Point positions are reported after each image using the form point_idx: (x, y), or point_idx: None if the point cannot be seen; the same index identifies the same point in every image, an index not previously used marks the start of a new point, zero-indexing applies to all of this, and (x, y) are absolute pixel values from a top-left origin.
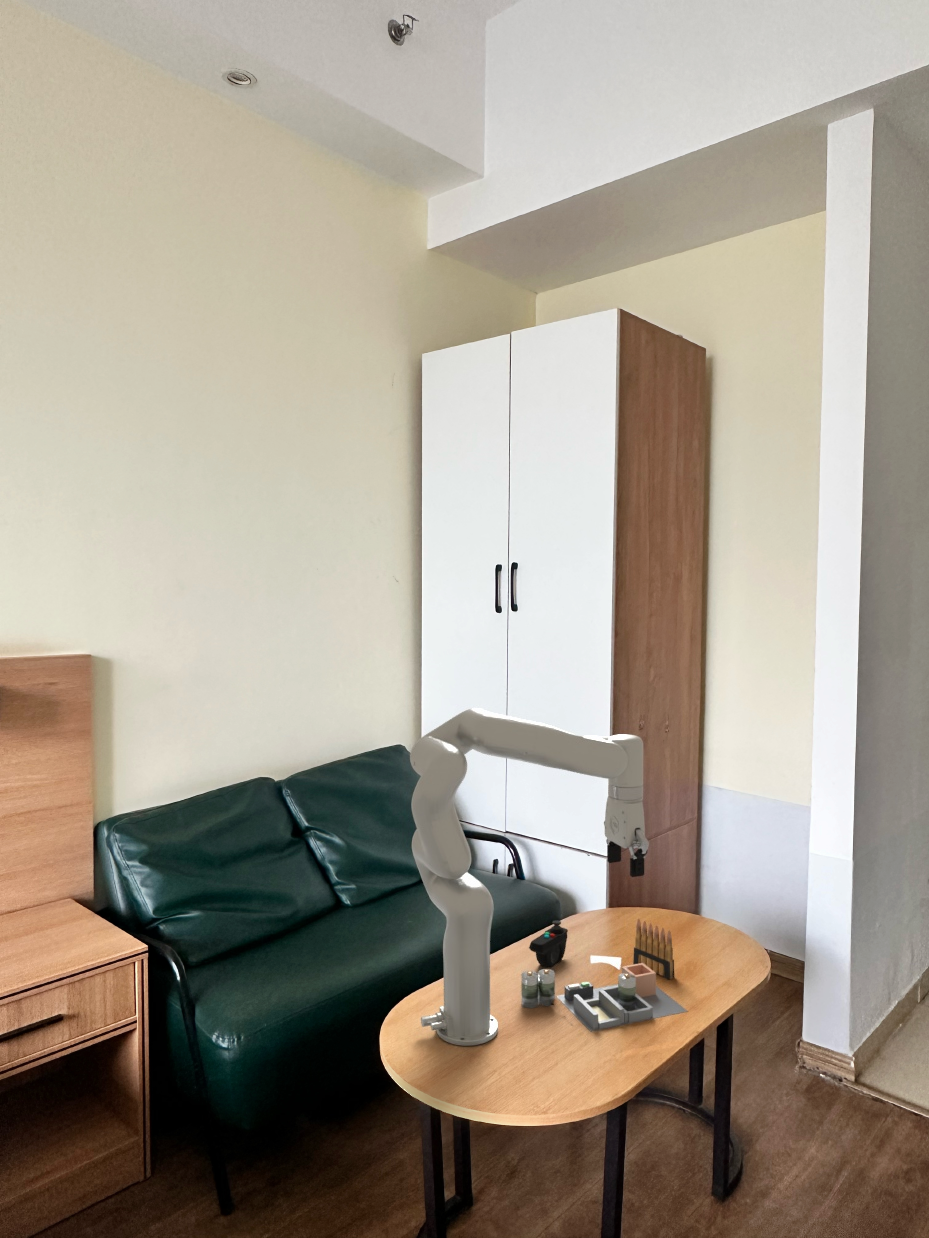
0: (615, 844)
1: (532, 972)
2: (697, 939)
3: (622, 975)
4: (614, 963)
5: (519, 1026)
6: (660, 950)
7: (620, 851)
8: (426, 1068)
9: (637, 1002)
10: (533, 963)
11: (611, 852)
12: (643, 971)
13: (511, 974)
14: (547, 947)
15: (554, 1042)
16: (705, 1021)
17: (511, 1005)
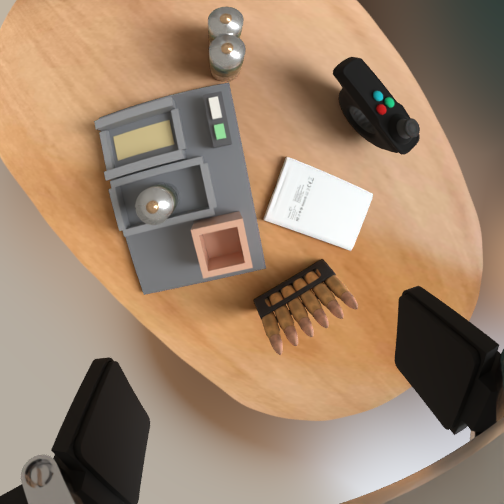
0: (468, 405)
1: (223, 21)
2: (375, 371)
3: (160, 198)
4: (334, 229)
5: (155, 20)
6: (281, 315)
7: (425, 399)
8: None
9: None
10: None
11: (440, 343)
12: (237, 260)
13: (336, 46)
14: (346, 87)
15: (98, 64)
16: (129, 309)
17: None
